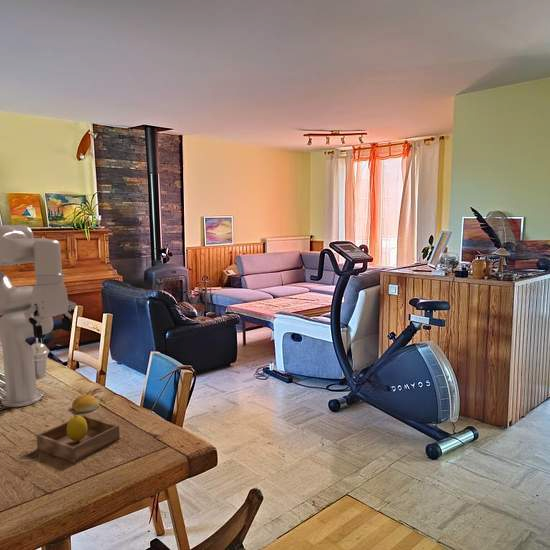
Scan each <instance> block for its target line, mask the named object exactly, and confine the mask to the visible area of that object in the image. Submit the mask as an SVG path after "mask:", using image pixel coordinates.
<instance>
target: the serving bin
mask: <svg viewBox="0 0 550 550" xmlns="http://www.w3.org/2000/svg"><path fill="white" fill-rule="evenodd" d="M80 416H81V417H83V418H84V419H85V420H86V422H87V427H88V428H87V434H86V436H85V437H84V438H83V439H81V440H80V441H79V442H76V441H73V440H71V439H70V438H69V437H68V435H67V424H68V421H66V422H64V423H62V424H60V425H57V426H54V427H52V428H50V429H48V430H46V431H44V432H41V433H38V434H36V446H37V447H36V448H37V449H38V450H40V451H42V452H45V453H48V454H50V455H53V456H54V457H55V456H56V457H58V458H61V459H62V460H65V461H68V462H71V463H74V464H75V463H77V462H78V461H80V460H82V459H85V458H86V457H88V456H90V455H91V454H93V453H96V452H98V451H100V450H101V449H103V448H105V447H107V446H108V445H111V444H112V443H114V442H117V441H119V440H120V435H121V434H120V425H118V424H114V423H111V422H107V421H104V420H101V419H98V418H95V417H92V416H89V415H86V414H83V415H80Z"/></svg>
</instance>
